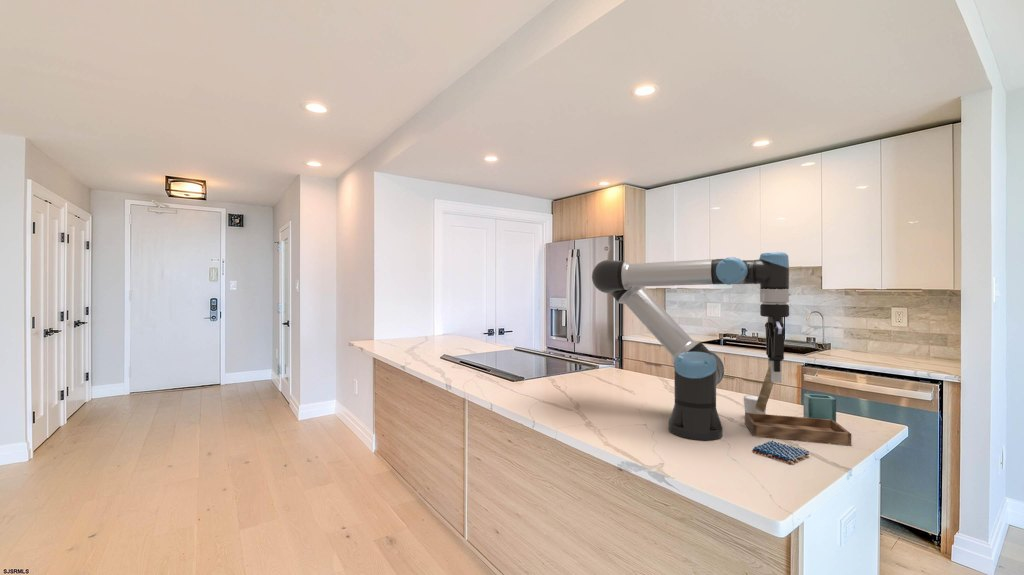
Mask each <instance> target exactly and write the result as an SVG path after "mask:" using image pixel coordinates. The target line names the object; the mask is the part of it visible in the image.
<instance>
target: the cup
mask: <svg viewBox="0 0 1024 575" xmlns="http://www.w3.org/2000/svg"><path fill="white" fill-rule="evenodd" d="M803 417H805V418H818V419H830V420H834V421H835V422H837V399H836V398H835V397H833V396H831V395H830V394H829V395H827V394H817V393H816V394H815V393H814V394H813V393H803Z"/></svg>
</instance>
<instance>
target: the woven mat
mask: <svg viewBox="0 0 1024 575" xmlns="http://www.w3.org/2000/svg"><path fill="white" fill-rule="evenodd" d="M751 452H752V453H753V454H756V455H761V456H763V457H767V458H769V459H773V460H776V461H779V462H782V463H786V464H788V465H794V464H797V463H799V462H803V461H804V460H805V459H806V458H807V459H809V458H810V457H811V456H810V454H811V453H810V451H808V450H806V449H802V448H799V447H793V446H792V445H789V444H788V445H787V444H786V443H784V444H783V443H781V442H776V441H774V440H773V439H772V440H771V441H770V440H769V441H768V442H767V441H766V442H764V443H762V444H759V445H756V446H754V448H752V450H751Z"/></svg>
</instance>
